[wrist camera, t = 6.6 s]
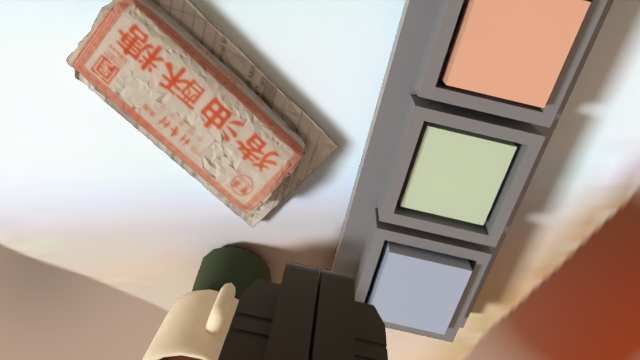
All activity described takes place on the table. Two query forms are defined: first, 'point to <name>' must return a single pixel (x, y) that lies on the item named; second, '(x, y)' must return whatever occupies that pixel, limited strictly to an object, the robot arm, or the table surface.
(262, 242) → the table surface
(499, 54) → the terracotta button
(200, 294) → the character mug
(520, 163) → the button panel
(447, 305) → the slate button
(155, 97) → the packaged product
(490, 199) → the sage button
